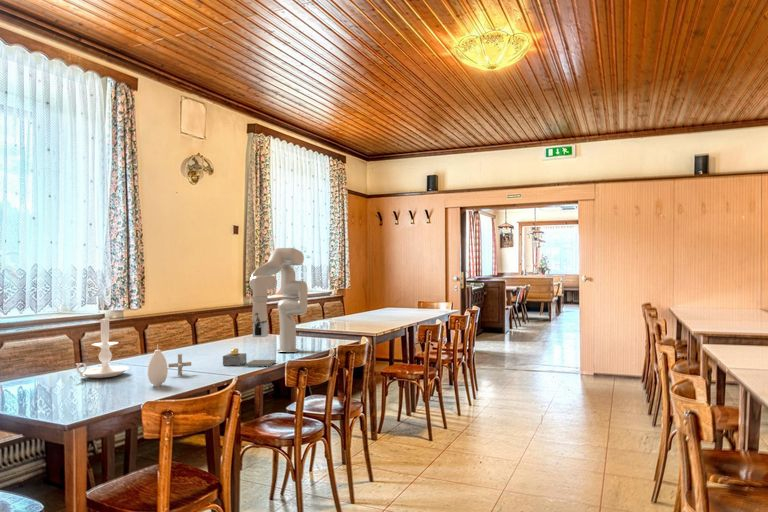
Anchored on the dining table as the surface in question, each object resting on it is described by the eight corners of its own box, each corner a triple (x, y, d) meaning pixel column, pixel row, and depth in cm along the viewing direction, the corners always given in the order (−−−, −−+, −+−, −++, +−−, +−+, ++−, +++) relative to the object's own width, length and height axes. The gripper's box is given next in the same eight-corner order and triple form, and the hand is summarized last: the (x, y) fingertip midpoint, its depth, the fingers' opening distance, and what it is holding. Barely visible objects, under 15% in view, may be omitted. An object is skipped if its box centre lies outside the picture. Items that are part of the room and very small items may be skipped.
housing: (257, 335, 273) (256, 322, 273) (268, 335, 272) (267, 322, 273) (252, 337, 267) (252, 323, 267) (263, 337, 266) (263, 323, 267)
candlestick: (61, 381, 237) (61, 319, 238) (110, 371, 260) (109, 314, 260) (91, 384, 228) (90, 320, 229) (139, 374, 251) (138, 315, 251)
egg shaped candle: (146, 388, 218) (146, 345, 219) (149, 384, 226) (149, 343, 226) (166, 387, 220) (166, 344, 221) (168, 383, 228) (168, 342, 228)
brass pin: (232, 357, 274) (232, 348, 274) (239, 357, 274) (239, 348, 274) (230, 358, 271) (229, 349, 271) (236, 358, 270) (236, 349, 270)
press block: (230, 362, 277) (230, 353, 277) (246, 362, 276) (246, 353, 276) (222, 365, 268) (222, 356, 268) (239, 366, 267) (239, 356, 267)
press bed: (254, 362, 276) (254, 359, 276) (275, 362, 274) (275, 360, 274) (245, 367, 264) (245, 364, 264) (267, 367, 263) (267, 364, 263)
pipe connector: (168, 374, 248) (167, 353, 248) (190, 372, 252) (190, 351, 252) (169, 378, 239) (168, 356, 239) (192, 376, 243) (192, 354, 243)
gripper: (259, 299, 279) (259, 332, 279) (246, 300, 262) (247, 336, 262) (272, 298, 278) (273, 332, 278) (261, 300, 261) (261, 336, 261)
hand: (260, 334), depth 270 cm, fingers closed on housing, 6 cm apart
